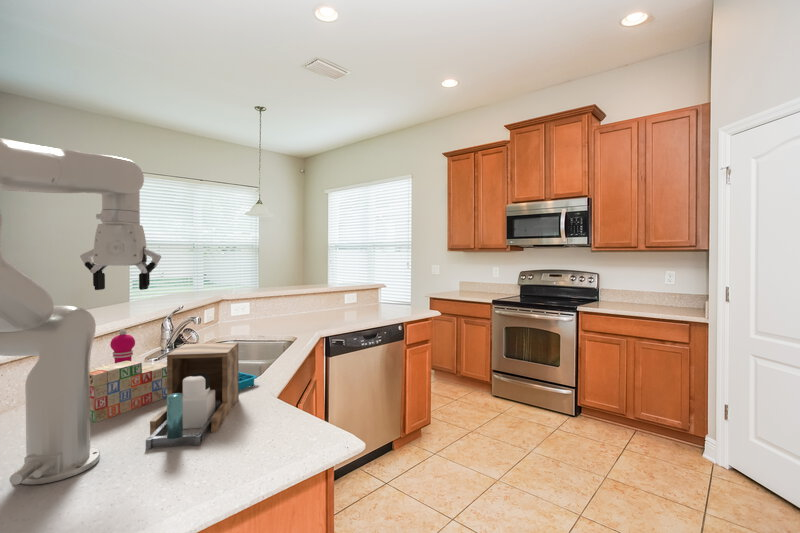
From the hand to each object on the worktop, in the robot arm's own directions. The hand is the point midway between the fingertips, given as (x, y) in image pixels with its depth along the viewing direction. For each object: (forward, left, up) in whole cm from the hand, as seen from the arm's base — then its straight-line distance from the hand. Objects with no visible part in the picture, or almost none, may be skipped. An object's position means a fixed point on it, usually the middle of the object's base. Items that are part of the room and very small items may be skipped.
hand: (121, 289), depth 98 cm
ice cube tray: (+30, -16, -34) cm, 48 cm away
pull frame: (-6, -16, -33) cm, 38 cm away
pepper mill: (+22, +10, -34) cm, 41 cm away
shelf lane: (+3, -16, -33) cm, 37 cm away
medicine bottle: (-2, -17, -34) cm, 38 cm away
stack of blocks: (+13, +5, -34) cm, 37 cm away
